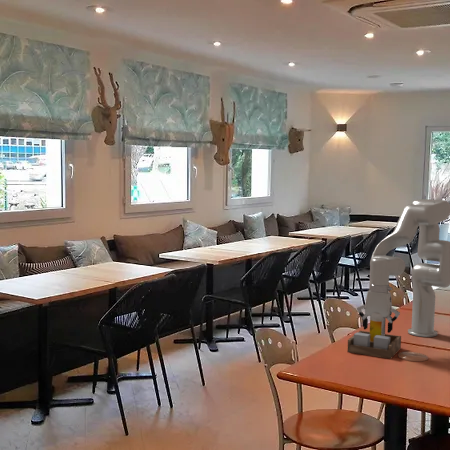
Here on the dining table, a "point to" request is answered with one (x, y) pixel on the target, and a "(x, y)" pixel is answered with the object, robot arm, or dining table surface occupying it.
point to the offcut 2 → (381, 342)
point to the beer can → (377, 325)
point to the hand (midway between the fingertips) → (377, 330)
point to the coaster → (413, 356)
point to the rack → (392, 348)
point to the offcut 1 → (362, 339)
